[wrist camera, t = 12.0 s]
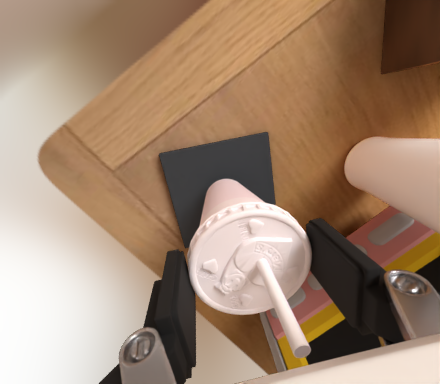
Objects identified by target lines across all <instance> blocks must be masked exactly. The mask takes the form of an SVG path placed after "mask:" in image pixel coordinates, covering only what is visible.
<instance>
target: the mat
mask: <svg viewBox="0 0 440 384" xmlns="http://www.w3.org/2000/svg"><path fill="white" fill-rule="evenodd" d="M159 157H160V160H161V164H162V167H163V171H164V174H165V178H166V182H167V185H168V189H169V192H170V196H171V199H172V203H173V207H174V210H175V214H176V217H177V221H178V224H179V228H180V231H181V235H182V239H183V242H184V246H185V248H189V247H190V242H191V240H192V238H193V236H194V235H195V233H196V231H197V230H198V228H199V226H200V221H201V216H202V211H203V207H204V202H205V197H206V193H207V190H208V189H209V187H210V186H211V185H212V184H213V183H214V182H216V181H218V180H221V179H232V180H235V181H237V182H238V183H240V184H241V185H242V186H244V187H245V188H246V189H248V190H249V191H250V192H252V193H253V194H254V195H256V196H257V197H258V198H260V199H261V200H262V201H264V202H265V203H268V204H273V205H275V195H274V185H273V175H272V165H271V155H270V146H269V136H268V132H264V133H259V134H254V135H249V136H244V137H239V138H234V139H229V140H224V141H219V142H214V143H209V144H204V145H199V146H194V147H189V148H184V149H179V150H174V151H169V152H164V153H160V154H159ZM275 206H276V205H275Z"/></svg>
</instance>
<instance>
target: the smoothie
mask: <svg viewBox="0 0 440 384" xmlns="http://www.w3.org/2000/svg"><path fill="white" fill-rule="evenodd" d="M187 256H188V269H189V270H188V271H189V278H190V282H191V285H192V287H193V289H194V291H195V292H196V294H197V295H198V296H199V298H200V299H201V300H202V301H203V302H205V303H206V304H207V305H209V306H210V307H212V308H214V309H216V310H219V311H221V312H225V313H229V314H236V315H248V314H256V313H260V312H264V311H267V310H269V309H272V308H275V311H276V313H277V316H278V318H279V321H280V323H281V325H282V328H283V330H284V333H285V335H286V337H287V340H288V342H289V345H290V347H291V349H292V352H293V354H294V356H295V357H297V358H303V357H306V356H307V355H309V353H310V352H311V348H310V346H309V344H308V342H307V340H306V338H305V336H304V334H303V332H302V330H301V328H300V326H299V324H298V322H297V320H296V318H295V316H294V314H293V312H292V310H291V308H290V306H289V304H288V302H287V299H289V298H290V297H291V296H293V295H294V293H295V292H296V291H297V290H298V289H299V288H300V287H301V285H302V284H303V282H304V281H305V279H306V277H307V275H308V273H309V270H310V267H311V262H312V248H311V244H310V241H309V238H308V236H307V234H306V233H305V231H304V230H303V228H302V227H301V226H300V225H299V224H298V222H297V221H296V220H295V219H294V218H293V217H292V216H291V215H290V214H289V213H288V212H287V211H285V210H283V209H281V208H279V207H277V206H275V205H273V204H268V203H265V202H264V201H262V200H261V199H260V198H258V197H257V196H256V195H254V194H253V193H252V192H250V191H249V190H248V189H246V188H245V187H244V186H242V185H241V184H240V183H238V182H237V181H235V180H232V179H221V180H218V181H216V182H214V183H213V184H212V185H211V186H210V187H209V189H208V190H207V193H206V197H205V202H204V207H203V211H202V216H201V221H200V226H199V228H198V230H197V231H196V233H195V235H194V236H193V238H192V240H191V242H190V247H189V251H188V255H187Z"/></svg>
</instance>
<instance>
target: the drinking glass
mask: <svg viewBox="0 0 440 384" xmlns="http://www.w3.org/2000/svg"><path fill="white" fill-rule="evenodd" d="M344 172H345V176H346V178H347V180H348V182H349V183H350V184H351V185H353V186H354V187H356V188H358V189H360V190H362V191H365V192H367V193H369V194H370V195H372V196H374V197H376V198H378V199H379V200H381V201H383V202H385V203H386V204H388V205H390V206H392V207H393V208H395V209H397V210H399V211H400V212H402V213H404V214H406V215H407V216H409V217H411V218H413V219H414V220H416V221H418V222H419V223H421V224H423V225H425V226H426V227H428V228H430V229H432V230H433V231H435V232H437V233H439V234H440V139H430V138H389V137H370V138H367V139H364V140H362V141H361V142H359V143H358V144H356V145H355V146H354V147H353V148H352V149H351V151H350V152H349V154H348V156H347V158H346V161H345V165H344Z"/></svg>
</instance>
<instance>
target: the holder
mask: <svg viewBox="0 0 440 384" xmlns="http://www.w3.org/2000/svg"><path fill="white" fill-rule="evenodd" d="M438 63H440V0H386V10H385V25H384V39H383V54H382V69H381V74H386V73H391V72H396V71H402V70H407V69H412V68H417V67H422V66H427V65H433V64H438Z"/></svg>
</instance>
